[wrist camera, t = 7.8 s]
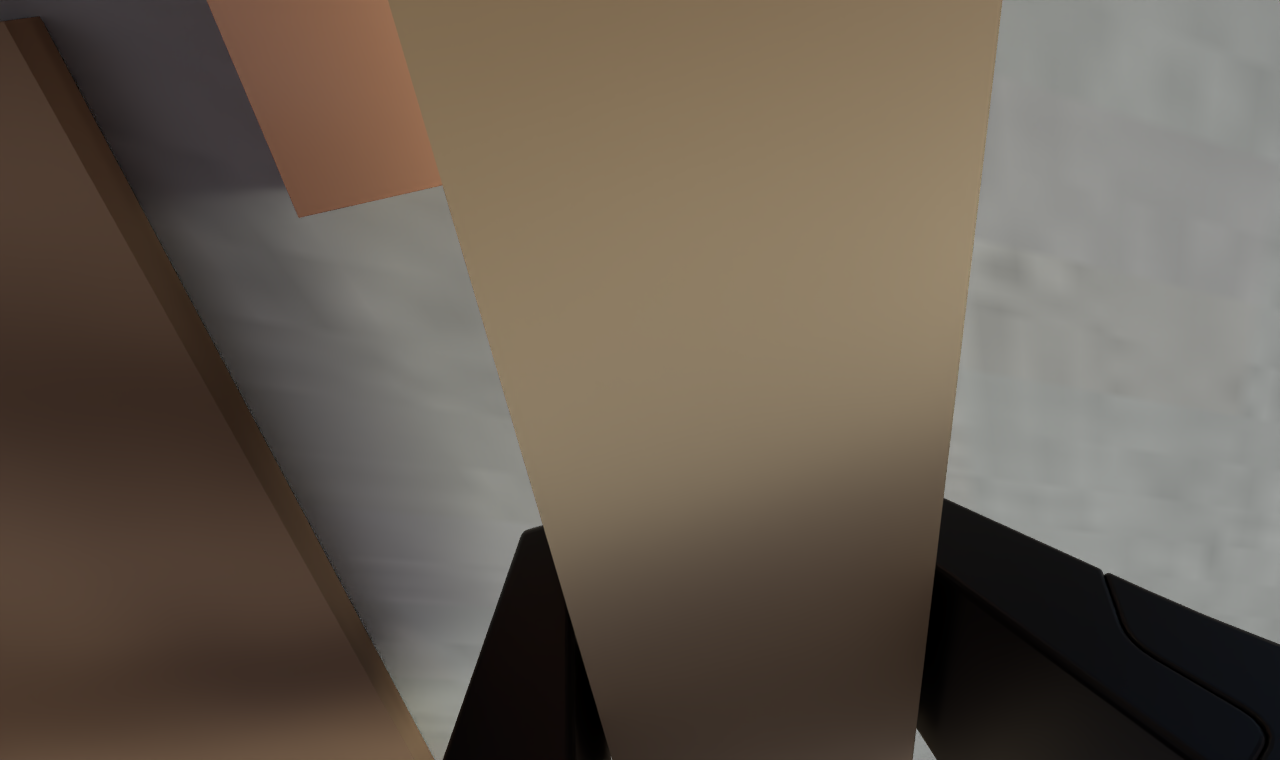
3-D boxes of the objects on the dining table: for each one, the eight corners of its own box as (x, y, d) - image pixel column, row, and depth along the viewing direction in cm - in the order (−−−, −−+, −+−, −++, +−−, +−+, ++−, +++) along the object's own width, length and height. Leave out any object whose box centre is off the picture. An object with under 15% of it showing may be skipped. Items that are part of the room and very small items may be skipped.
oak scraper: (777, 745, 14) (885, 984, 11) (633, 795, 14) (701, 1061, 11) (702, -372, 6) (1102, -839, 2) (319, -333, 5) (144, -826, 2)
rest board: (490, 864, 22) (492, 899, 21) (188, 972, 21) (178, 1013, 20) (39, 16, 10) (3, 21, 9) (-792, 154, 8) (-927, 177, 8)
